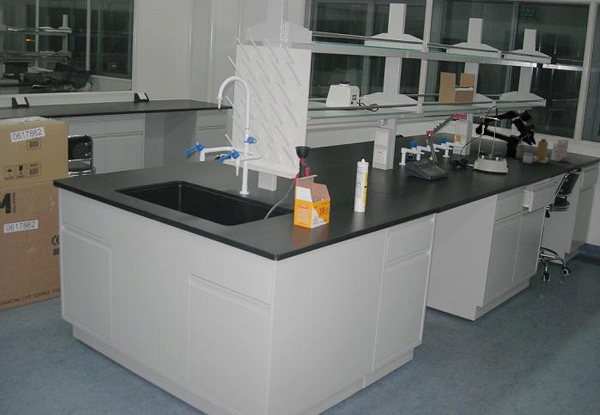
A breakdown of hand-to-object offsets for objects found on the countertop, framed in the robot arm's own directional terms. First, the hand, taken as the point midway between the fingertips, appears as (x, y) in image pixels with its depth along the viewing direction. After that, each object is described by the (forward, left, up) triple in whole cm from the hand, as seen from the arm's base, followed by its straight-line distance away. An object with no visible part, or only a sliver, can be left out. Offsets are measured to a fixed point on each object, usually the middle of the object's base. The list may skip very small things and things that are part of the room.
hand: (533, 145), depth 471 cm
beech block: (+6, -2, -11) cm, 12 cm away
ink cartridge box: (+17, +15, -10) cm, 25 cm away
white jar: (-2, -15, -10) cm, 18 cm away
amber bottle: (+6, -1, -7) cm, 10 cm away
